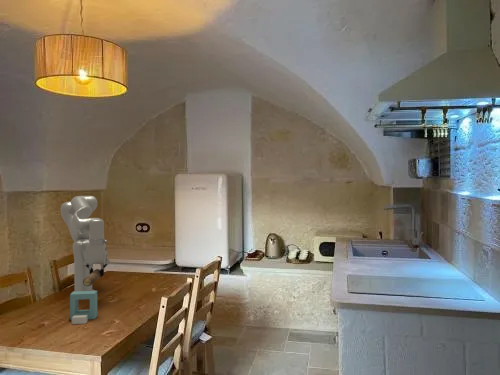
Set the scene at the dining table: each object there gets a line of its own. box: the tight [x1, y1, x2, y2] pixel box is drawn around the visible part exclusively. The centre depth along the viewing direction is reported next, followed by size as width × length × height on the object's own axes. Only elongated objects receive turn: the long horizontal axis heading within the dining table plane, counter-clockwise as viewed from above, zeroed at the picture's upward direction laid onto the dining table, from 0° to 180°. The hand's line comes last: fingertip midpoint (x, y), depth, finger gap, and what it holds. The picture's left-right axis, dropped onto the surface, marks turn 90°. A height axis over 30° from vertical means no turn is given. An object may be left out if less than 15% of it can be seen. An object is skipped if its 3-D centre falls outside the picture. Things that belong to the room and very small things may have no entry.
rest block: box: [71, 315, 89, 325], centre depth 183 cm, size 3×6×3 cm, turn 97°
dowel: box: [83, 268, 101, 286], centre depth 205 cm, size 22×4×4 cm, turn 8°
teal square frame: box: [69, 290, 98, 321], centre depth 190 cm, size 5×11×12 cm, turn 98°
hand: (96, 276), depth 214 cm, fingers closed on dowel, 4 cm apart
